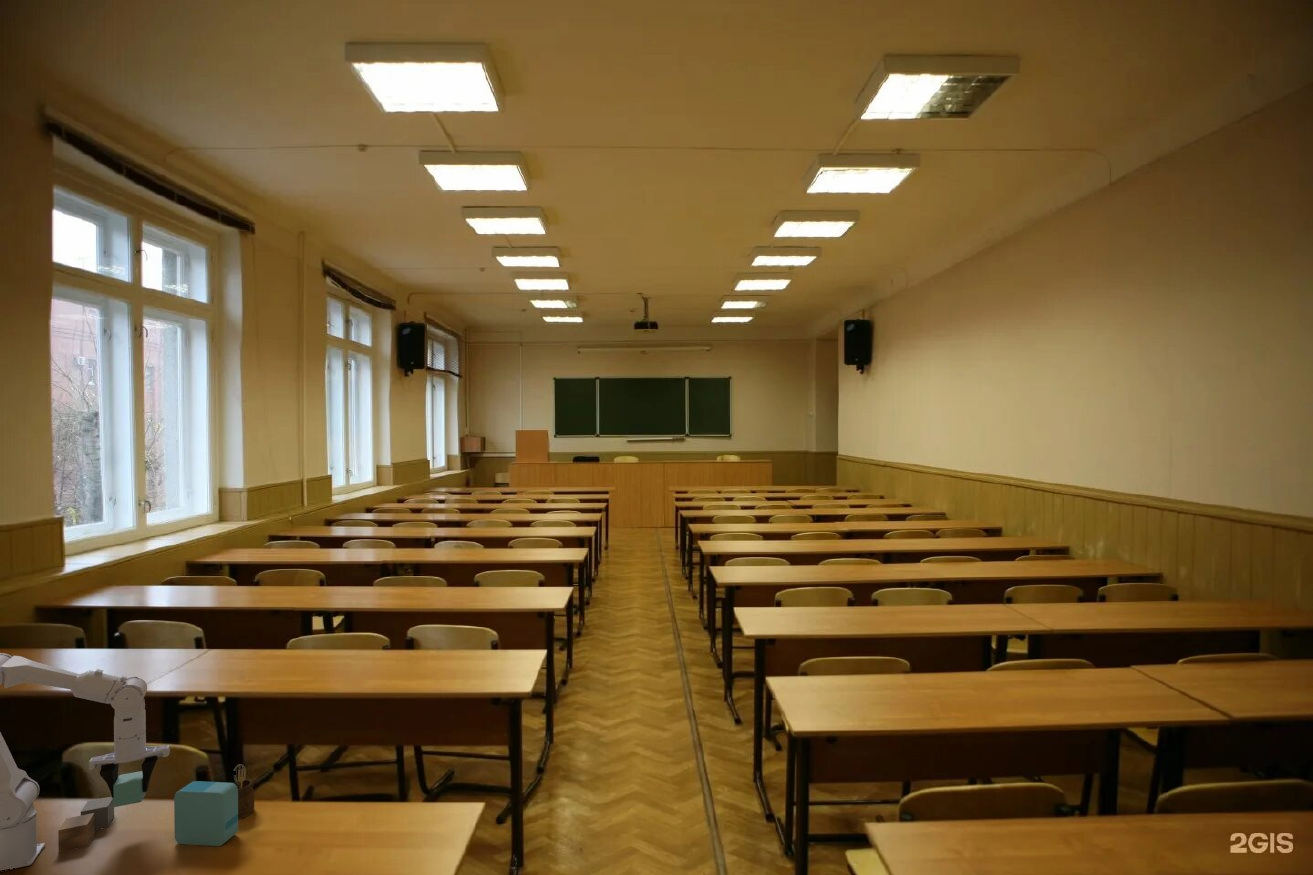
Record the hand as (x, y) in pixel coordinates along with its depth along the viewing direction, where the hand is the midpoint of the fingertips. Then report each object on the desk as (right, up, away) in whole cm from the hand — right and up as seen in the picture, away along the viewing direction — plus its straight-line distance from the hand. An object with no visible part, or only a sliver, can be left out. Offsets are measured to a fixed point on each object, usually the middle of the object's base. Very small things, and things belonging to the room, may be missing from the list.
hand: (130, 792), depth 155 cm
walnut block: (-9, -10, -3) cm, 14 cm away
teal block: (0, -1, 0) cm, 1 cm away
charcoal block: (-11, -10, +4) cm, 15 cm away
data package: (+19, -10, -2) cm, 21 cm away
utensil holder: (+20, -10, +8) cm, 24 cm away
